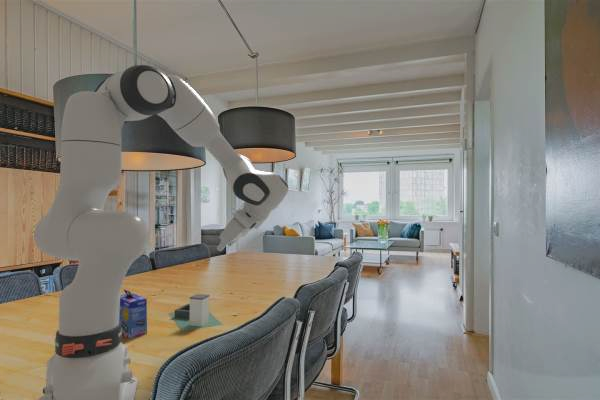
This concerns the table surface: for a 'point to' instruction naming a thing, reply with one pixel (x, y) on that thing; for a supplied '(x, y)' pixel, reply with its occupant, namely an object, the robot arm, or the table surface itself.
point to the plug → (199, 310)
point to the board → (183, 316)
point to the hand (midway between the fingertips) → (223, 247)
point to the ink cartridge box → (133, 315)
